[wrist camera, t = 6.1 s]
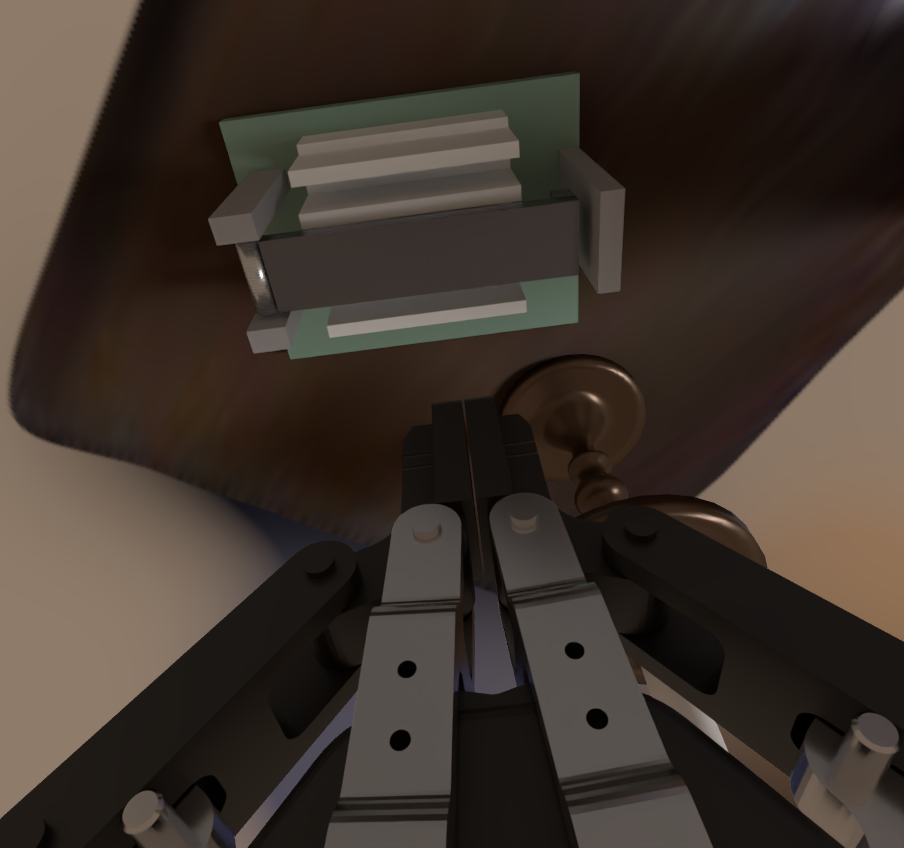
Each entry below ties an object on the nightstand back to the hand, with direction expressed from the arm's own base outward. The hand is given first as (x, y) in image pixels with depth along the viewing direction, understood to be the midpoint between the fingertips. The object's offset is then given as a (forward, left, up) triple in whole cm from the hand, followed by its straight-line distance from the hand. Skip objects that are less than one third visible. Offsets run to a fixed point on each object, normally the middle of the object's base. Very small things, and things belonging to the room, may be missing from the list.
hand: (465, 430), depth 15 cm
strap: (+1, 0, -14) cm, 14 cm away
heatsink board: (+1, +1, -19) cm, 19 cm away
